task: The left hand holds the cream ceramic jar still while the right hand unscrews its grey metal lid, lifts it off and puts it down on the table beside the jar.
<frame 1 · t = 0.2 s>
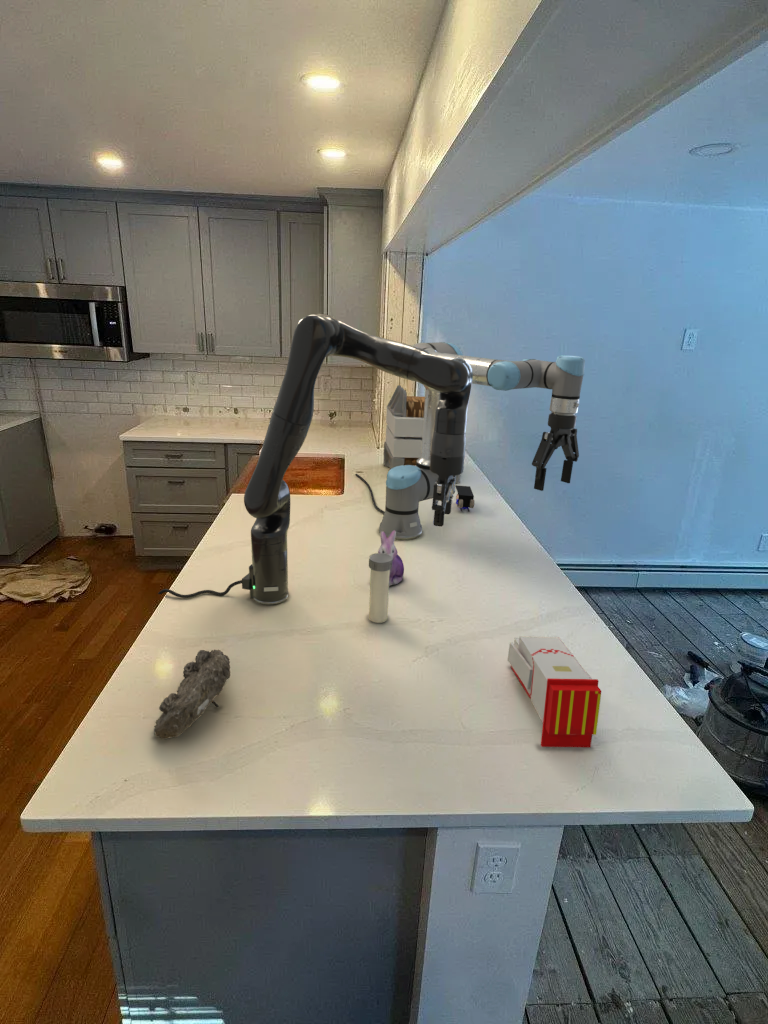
left hand: (442, 519, 132), 29 cm above the counter, tool pointing down, fingers open, 8 cm apart
right hand: (552, 485, 166), 28 cm above the counter, tool pointing down, fingers open, 13 cm apart
grey brown slatted box: (419, 473, 275), on the counter
lid: (380, 559, 140), point 17 cm above the counter, screwed on, not yet turned
toy: (543, 700, 117), on the counter
figurine character: (463, 508, 229), on the counter
fossil: (199, 705, 111), on the counter
figurine: (389, 580, 166), on the counter
jar: (378, 617, 145), on the counter
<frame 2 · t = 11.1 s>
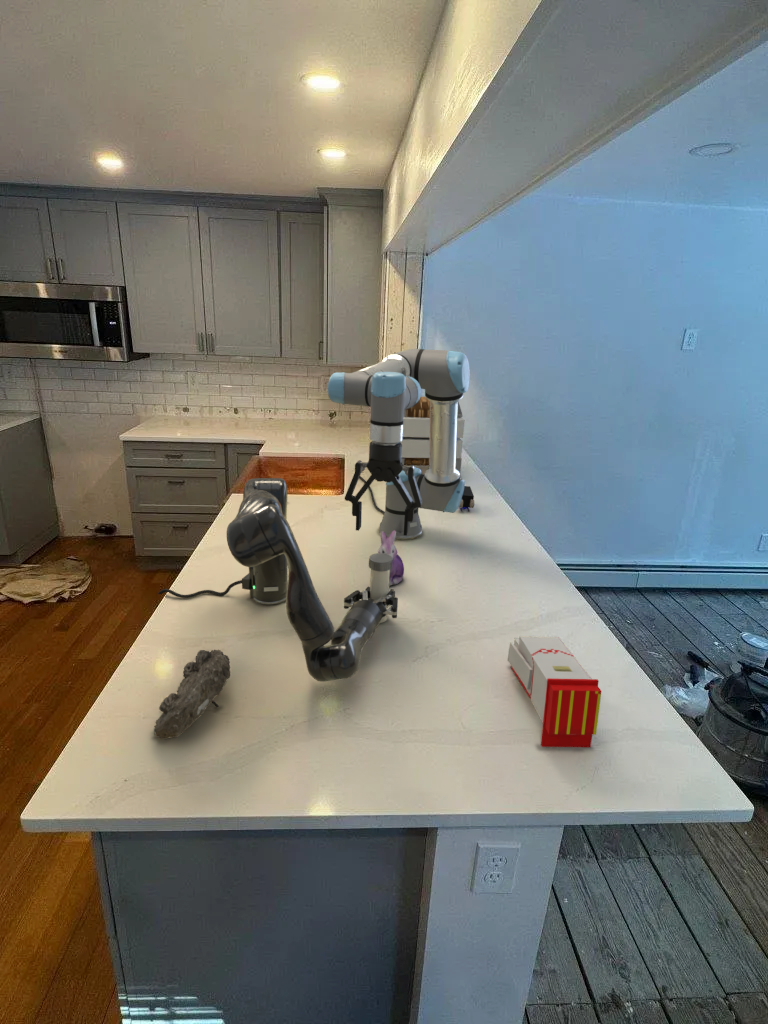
left hand: (382, 590, 145), 7 cm above the counter, tool horizontal, fingers closed on jar, 4 cm apart
right hand: (381, 531, 137), 24 cm above the counter, tool pointing down, fingers open, 11 cm apart
jar: (378, 617, 145), on the counter, touching left hand
everything else where it was.
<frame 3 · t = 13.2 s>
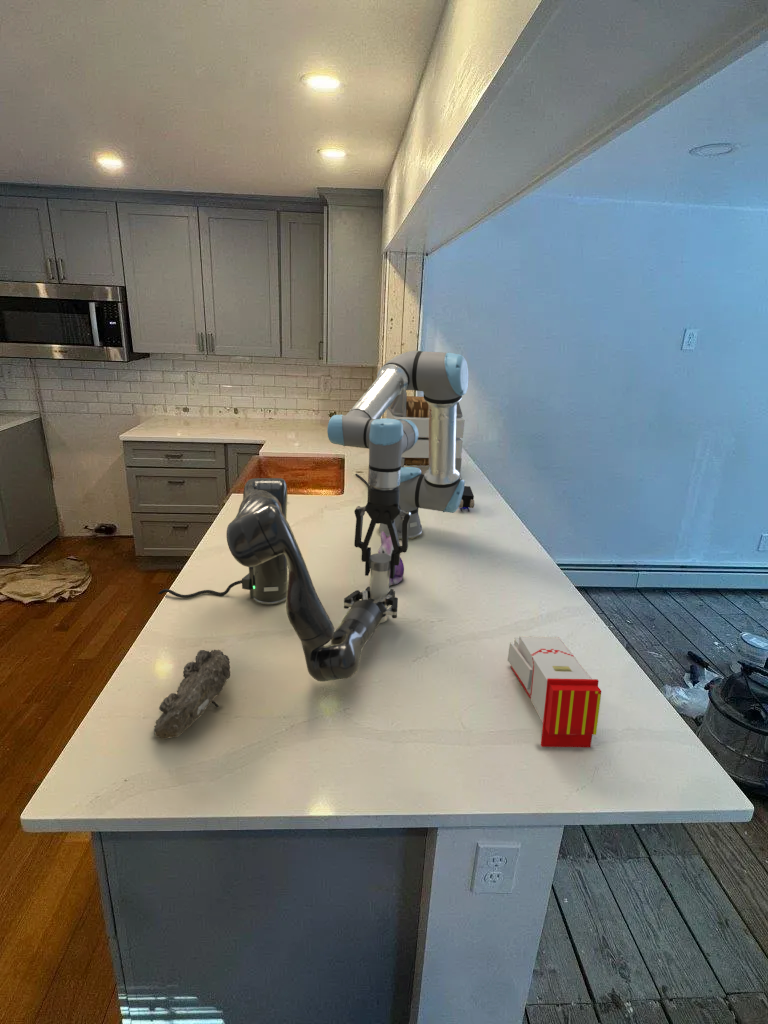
left hand: (382, 590, 145), 7 cm above the counter, tool horizontal, fingers closed on jar, 4 cm apart
right hand: (379, 574, 141), 12 cm above the counter, tool pointing down, fingers closed on lid, 6 cm apart
lid: (380, 559, 140), point 17 cm above the counter, screwed on, not yet turned, touching right hand
jar: (378, 617, 145), on the counter, touching left hand
everything else where it was.
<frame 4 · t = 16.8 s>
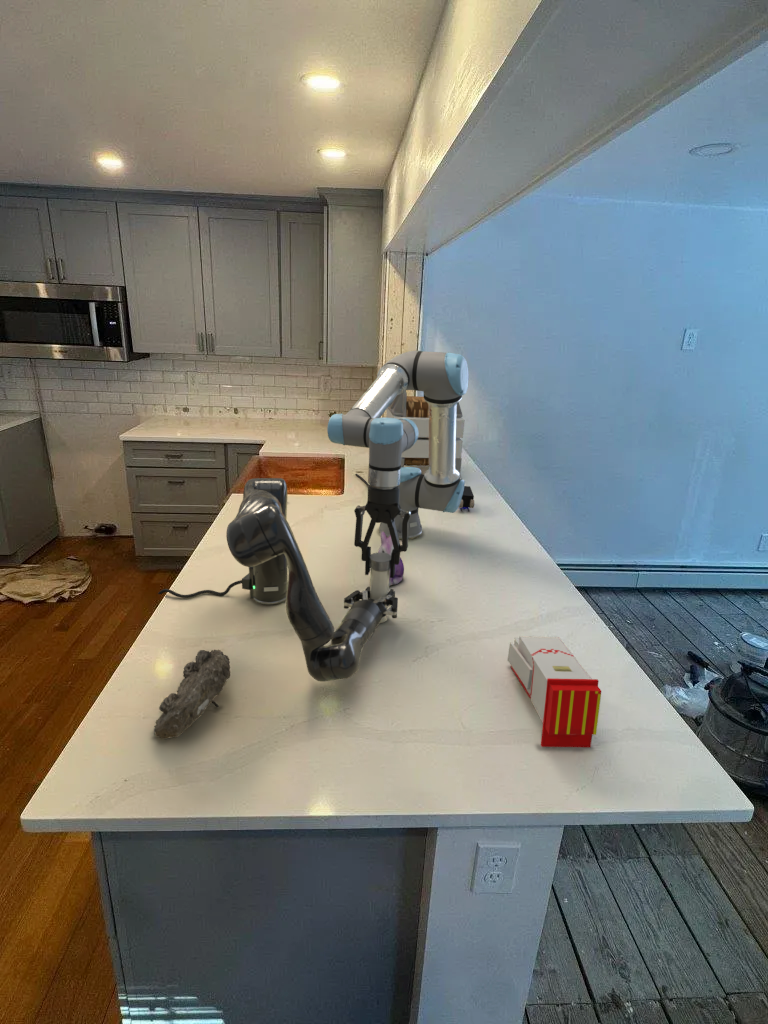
left hand: (382, 590, 145), 7 cm above the counter, tool horizontal, fingers closed on jar, 4 cm apart
right hand: (380, 573, 141), 13 cm above the counter, tool pointing down, fingers closed on lid, 6 cm apart
lid: (380, 558, 140), point 17 cm above the counter, turned 129° so far, risen 0.2 cm, still on its thread, touching right hand
jar: (378, 617, 145), on the counter, touching left hand
everything else where it was.
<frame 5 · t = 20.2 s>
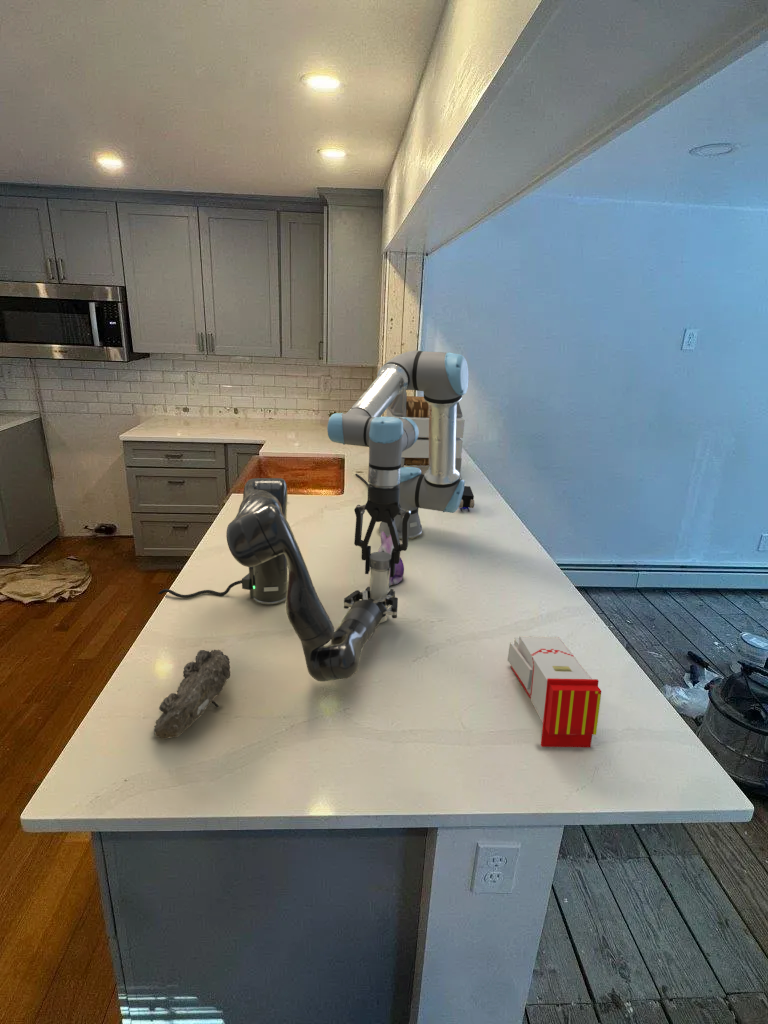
left hand: (382, 590, 145), 7 cm above the counter, tool horizontal, fingers closed on jar, 4 cm apart
right hand: (380, 573, 141), 13 cm above the counter, tool pointing down, fingers closed on lid, 6 cm apart
lid: (380, 557, 139), point 17 cm above the counter, turned 257° so far, risen 0.4 cm, still on its thread, touching right hand
jar: (378, 618, 145), on the counter, touching left hand
everything else where it was.
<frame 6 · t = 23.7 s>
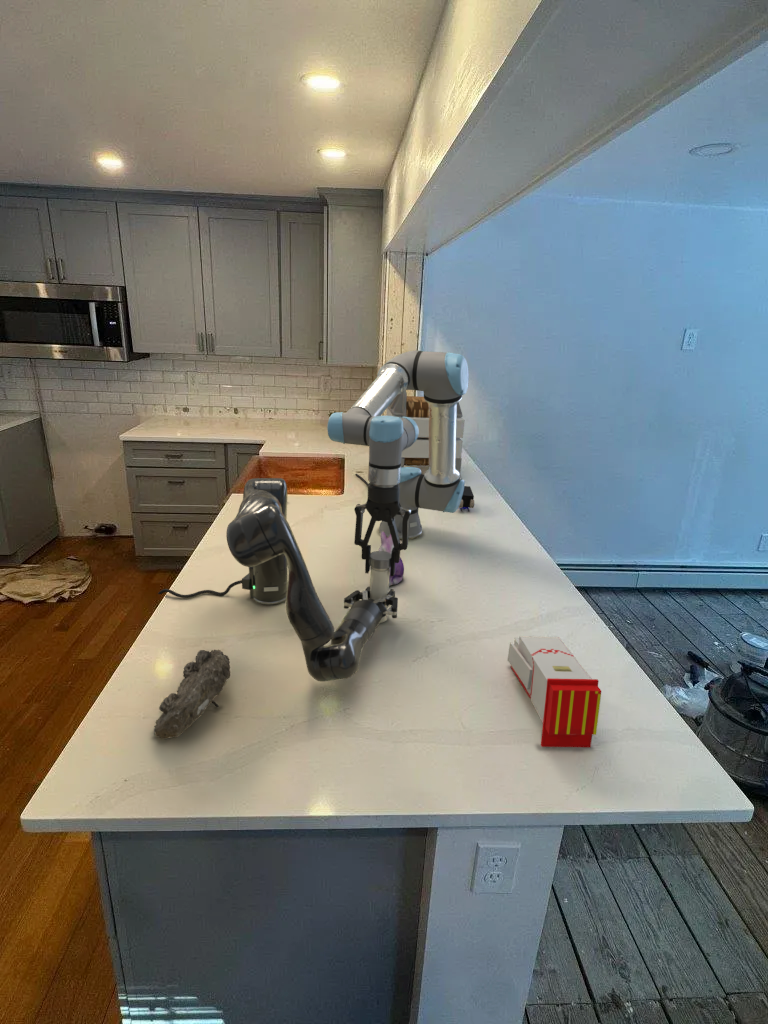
left hand: (382, 590, 145), 7 cm above the counter, tool horizontal, fingers closed on jar, 4 cm apart
right hand: (380, 572, 141), 13 cm above the counter, tool pointing down, fingers closed on lid, 6 cm apart
lid: (380, 556, 139), point 17 cm above the counter, turned 386° so far, risen 0.6 cm, still on its thread, touching right hand
jar: (378, 618, 145), on the counter, touching left hand
everything else where it was.
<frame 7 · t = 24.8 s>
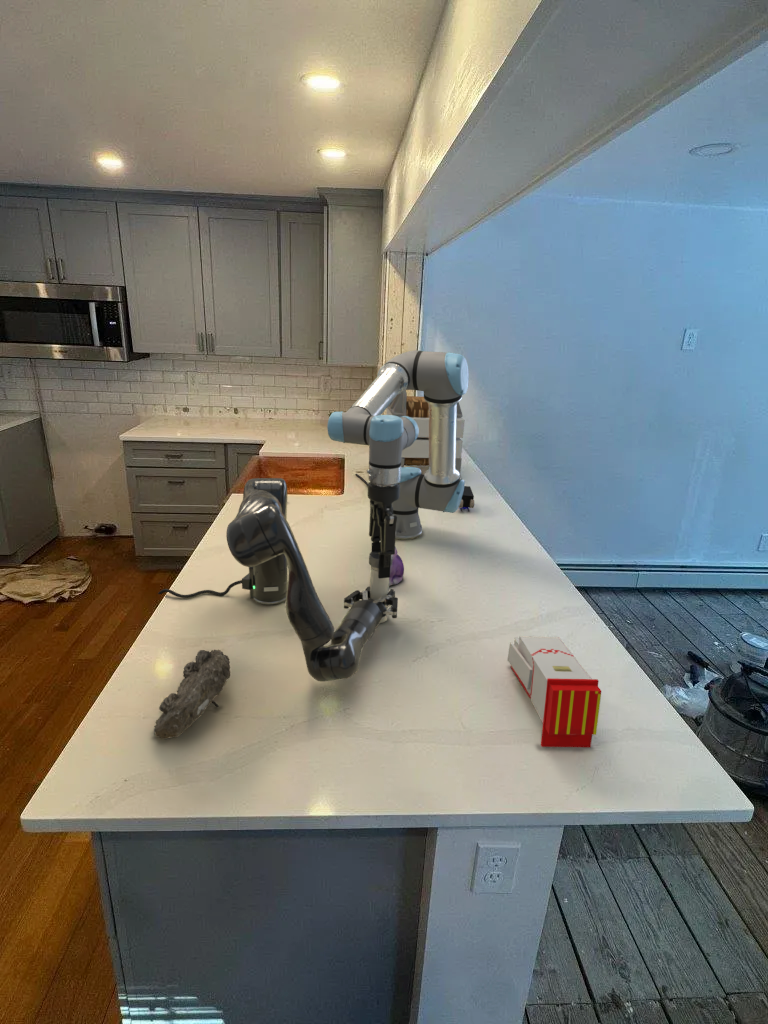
left hand: (382, 590, 145), 7 cm above the counter, tool horizontal, fingers closed on jar, 4 cm apart
right hand: (380, 571, 141), 13 cm above the counter, tool pointing down, fingers closed on lid, 6 cm apart
lid: (380, 556, 139), point 17 cm above the counter, off its thread, touching right hand
jar: (378, 618, 145), on the counter, touching left hand
everything else where it was.
when the right hand's fingers open (0 cm above the counter, at t = 30.4 s): lid drops 2 cm, point 2 cm above the counter.
when the left hand's fingers open (7 cm above the counter, at t = 31.5 s): jar stays where it is, on the counter.
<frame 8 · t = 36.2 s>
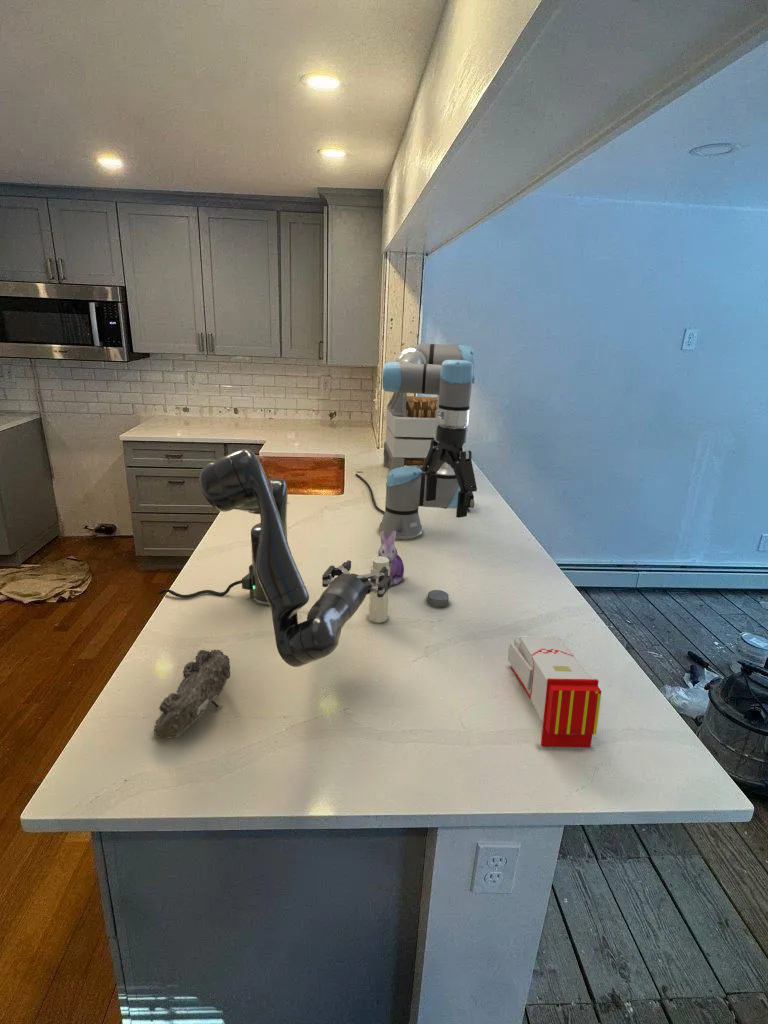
left hand: (367, 567, 129), 19 cm above the counter, tool horizontal, fingers open, 8 cm apart
right hand: (445, 508, 145), 27 cm above the counter, tool pointing down, fingers open, 13 cm apart
lid: (438, 595, 154), point 2 cm above the counter, off its thread
jar: (378, 617, 145), on the counter
everything else where it was.
at the end: lid came off its thread; lid point 2.0 cm above the counter; the left hand is holding nothing; the right hand is holding nothing; jar tilted 0°; jar moved 0.0 cm from its start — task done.
